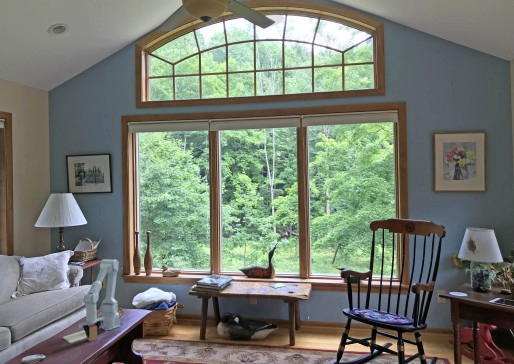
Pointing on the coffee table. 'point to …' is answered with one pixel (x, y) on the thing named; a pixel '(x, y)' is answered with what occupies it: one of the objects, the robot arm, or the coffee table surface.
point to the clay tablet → (117, 311)
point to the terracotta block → (92, 332)
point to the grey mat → (75, 337)
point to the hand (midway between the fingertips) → (92, 335)
